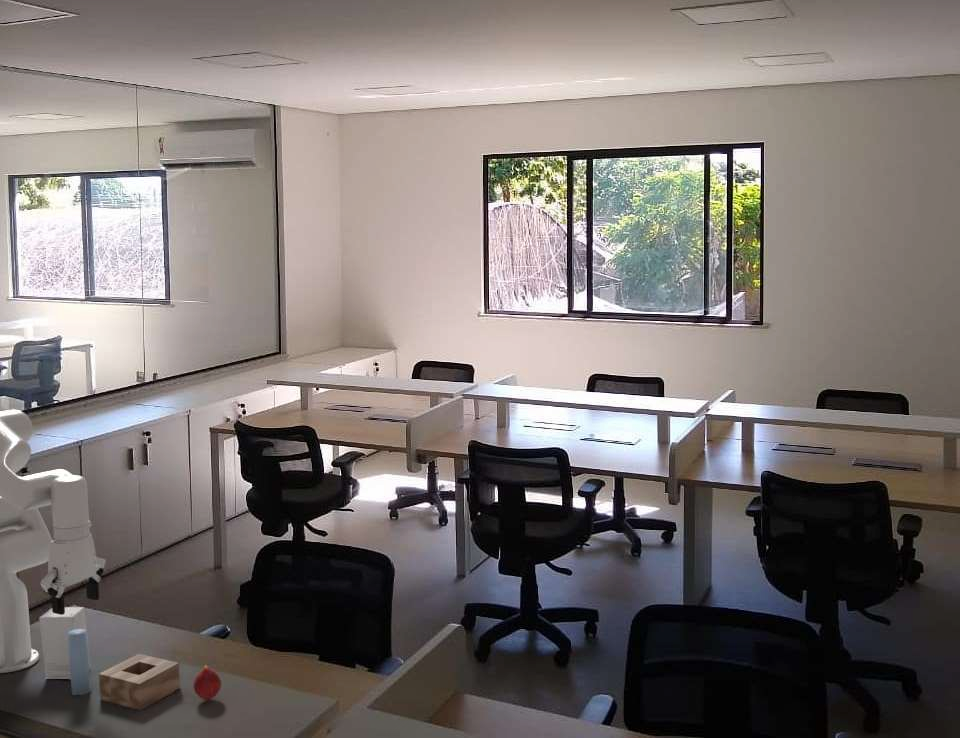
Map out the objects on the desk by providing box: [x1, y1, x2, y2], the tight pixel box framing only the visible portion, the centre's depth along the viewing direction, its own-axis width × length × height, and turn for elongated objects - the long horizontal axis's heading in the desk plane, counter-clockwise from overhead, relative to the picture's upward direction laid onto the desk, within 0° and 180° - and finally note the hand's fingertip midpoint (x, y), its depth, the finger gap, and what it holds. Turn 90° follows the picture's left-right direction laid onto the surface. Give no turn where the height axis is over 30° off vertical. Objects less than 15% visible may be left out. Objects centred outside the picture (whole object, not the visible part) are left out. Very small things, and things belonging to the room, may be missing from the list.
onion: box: [193, 665, 222, 702], centre depth 229 cm, size 6×6×8 cm
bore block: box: [98, 653, 181, 711], centre depth 233 cm, size 12×12×6 cm
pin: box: [68, 629, 92, 696], centre depth 234 cm, size 4×4×14 cm
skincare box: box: [39, 606, 91, 681], centre depth 242 cm, size 8×7×16 cm
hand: (76, 606), depth 232 cm, fingers open, 9 cm apart
